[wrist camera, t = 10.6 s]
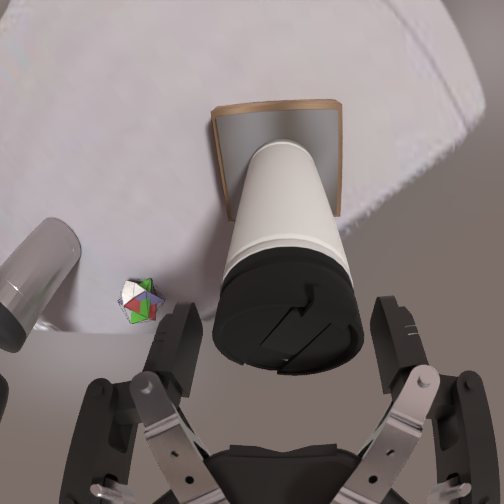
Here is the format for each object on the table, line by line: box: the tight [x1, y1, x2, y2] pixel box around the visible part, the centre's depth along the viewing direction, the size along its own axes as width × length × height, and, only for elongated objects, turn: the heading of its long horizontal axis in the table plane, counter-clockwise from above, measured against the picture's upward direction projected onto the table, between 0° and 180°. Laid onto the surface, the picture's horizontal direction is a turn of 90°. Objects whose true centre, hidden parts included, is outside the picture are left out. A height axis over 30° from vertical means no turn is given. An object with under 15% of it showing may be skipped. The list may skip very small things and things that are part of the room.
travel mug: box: [212, 139, 364, 376], centre depth 18 cm, size 6×7×20 cm
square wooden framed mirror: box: [211, 99, 342, 221], centre depth 28 cm, size 12×12×4 cm
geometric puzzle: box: [117, 278, 166, 325], centre depth 41 cm, size 7×7×8 cm
